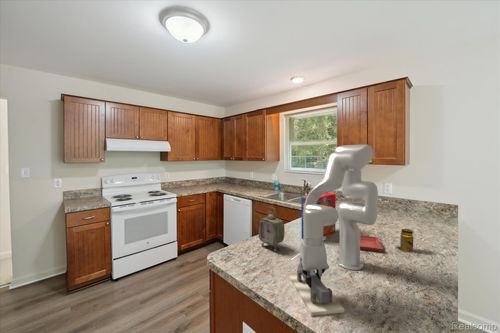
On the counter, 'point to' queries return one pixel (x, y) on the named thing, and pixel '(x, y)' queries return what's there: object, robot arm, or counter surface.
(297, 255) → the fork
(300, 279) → the clip board
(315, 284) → the bar
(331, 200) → the pasta box
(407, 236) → the condiment
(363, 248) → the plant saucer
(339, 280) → the counter surface
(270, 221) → the tabletop clock
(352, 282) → the counter surface
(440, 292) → the counter surface
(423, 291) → the counter surface
